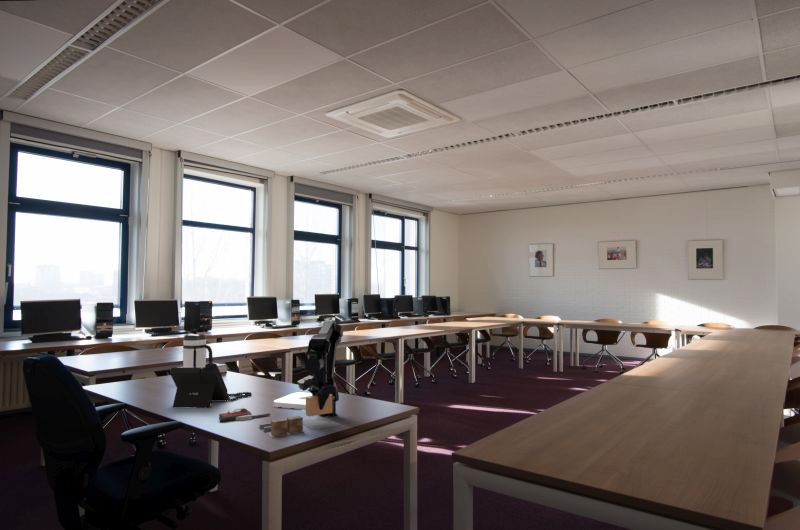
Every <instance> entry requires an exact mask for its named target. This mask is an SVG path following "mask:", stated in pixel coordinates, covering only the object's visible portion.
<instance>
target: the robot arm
mask: <svg viewBox="0 0 800 530" xmlns="http://www.w3.org/2000/svg"><path fill="white" fill-rule="evenodd" d="M343 329H344V328H343V327H342V325H340V324H338V323H337V322H336V321H334V320H325V321H323V323H322V326H321V328H320V329H319V332H318V333H317V334H313V336H311V337H310V339H309V341H308V346H307V352H306V356H309V357H310V358H308V359H307V360H306V361H305V365H304V366H305V368H304V369H305V370H306V371H307V372H308V373H309V375H307V376H305V377H303V378H301V379H299V380H297V384H298V387H299V390H301V391H303V392H305V391H308V393H311V394H312V396H315V395H317V396H318V401H319V408H320V410H322V409H323V407H324V405H325V403H326V401H327V399H328V397H329V395H330V394H331V395H332V413H328V414H322V415H320V416H321V417H322V418H324V417H326V418H328V417H335V416H338V413H337V411H336V408H337V407H336V406H337V403H336V402H338V401H339V400H340V395H339V390H338V387H337V384H336V381H335V379H334V374H335V373H334V372H335V365H336V356H337V350H338V349H337V348H338V345H340V343H341V342H342V338H343V337H344V330H343Z"/></svg>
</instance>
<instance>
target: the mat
mask: <svg viewBox="0 0 800 530" xmlns="http://www.w3.org/2000/svg"><path fill="white" fill-rule="evenodd" d="M336 426H341V423H338V422H336V421H335V420H332V419H331V418H328V417H319V418H313V419H308V420H303V427H306V428H307V429H309V430H311V431H315V430H319V429H325V428H330V427H336Z"/></svg>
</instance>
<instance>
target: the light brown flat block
mask: <svg viewBox="0 0 800 530" xmlns="http://www.w3.org/2000/svg"><path fill="white" fill-rule="evenodd" d="M328 413H332V395H331V394H330V395H329V397H328V399H327V401H326V403H325V405H324V407H323V409H322V410H320V408H319V401H318V396H317V395H315V396H308V397H306V409H305V415H306V417H315V416H321V415H322V414H328Z"/></svg>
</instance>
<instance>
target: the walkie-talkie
mask: <svg viewBox="0 0 800 530" xmlns="http://www.w3.org/2000/svg"><path fill="white" fill-rule="evenodd" d="M266 416H267V417H268V416H271V413H263V414H256V415H253V414H252V412H251V411H250V410H248V409H247V408H245V407H239V408H238V407H237V408H234V409H233V410H232V411H231V410H227V412H224V413H219V414H218V421H219V420H220V421H219V423H226V422H227V423H228V422H235V421H236V422H238V421H240V422H241V421H248V420H249V421H250V420H253V419H258V418H259V419H260V418H263V417H266Z"/></svg>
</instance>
